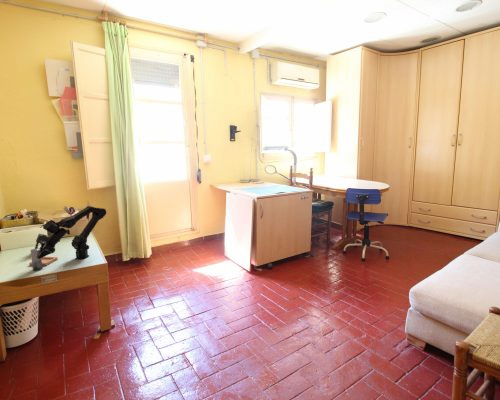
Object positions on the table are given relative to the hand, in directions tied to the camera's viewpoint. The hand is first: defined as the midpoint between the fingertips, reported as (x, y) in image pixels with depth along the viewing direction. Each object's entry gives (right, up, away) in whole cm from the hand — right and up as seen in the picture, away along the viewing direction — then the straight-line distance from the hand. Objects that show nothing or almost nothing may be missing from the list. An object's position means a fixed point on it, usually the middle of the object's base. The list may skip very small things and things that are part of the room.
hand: (37, 256), depth 184 cm
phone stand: (-18, -3, +28) cm, 34 cm away
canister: (-1, -9, +1) cm, 9 cm away
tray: (-5, -6, +12) cm, 14 cm away
